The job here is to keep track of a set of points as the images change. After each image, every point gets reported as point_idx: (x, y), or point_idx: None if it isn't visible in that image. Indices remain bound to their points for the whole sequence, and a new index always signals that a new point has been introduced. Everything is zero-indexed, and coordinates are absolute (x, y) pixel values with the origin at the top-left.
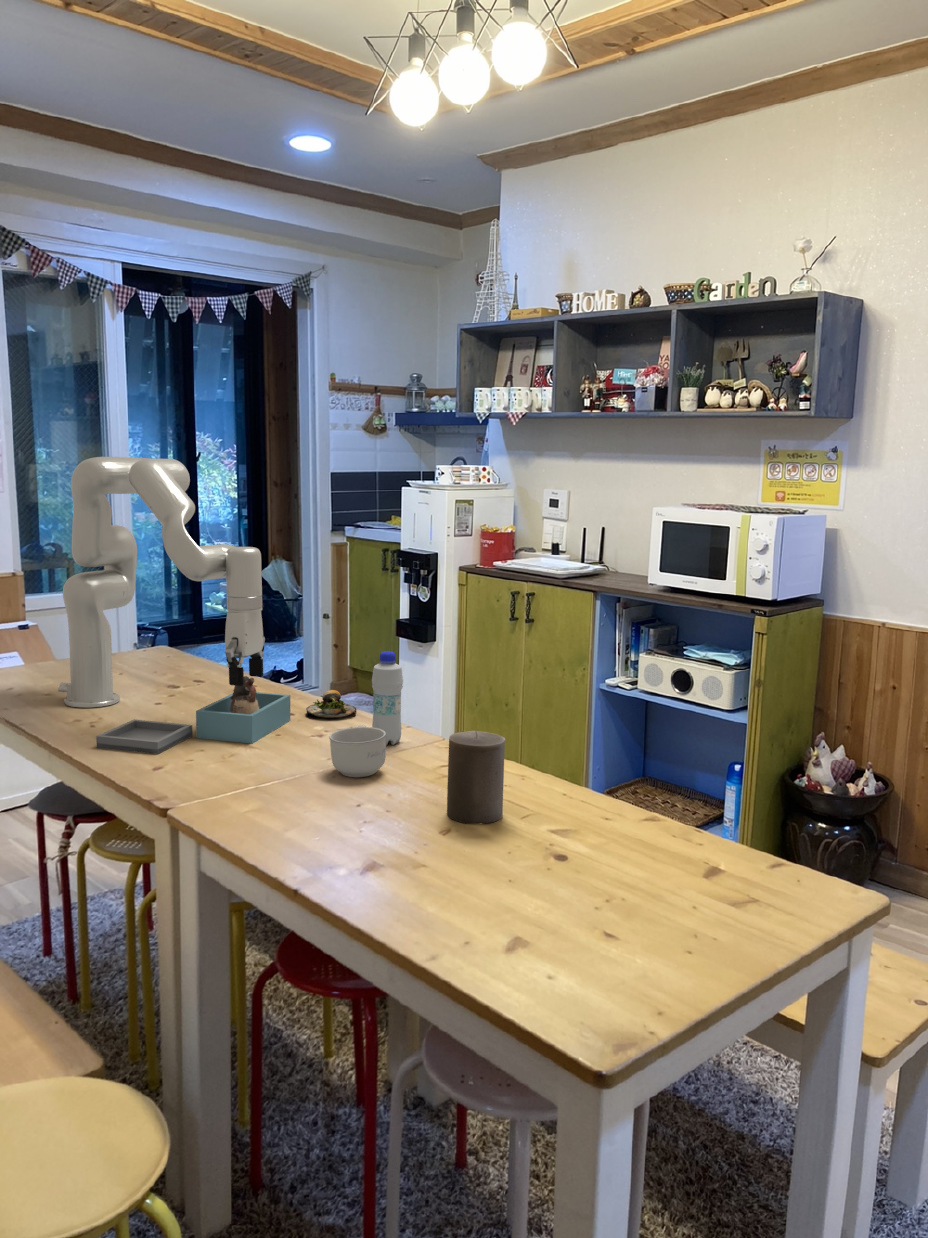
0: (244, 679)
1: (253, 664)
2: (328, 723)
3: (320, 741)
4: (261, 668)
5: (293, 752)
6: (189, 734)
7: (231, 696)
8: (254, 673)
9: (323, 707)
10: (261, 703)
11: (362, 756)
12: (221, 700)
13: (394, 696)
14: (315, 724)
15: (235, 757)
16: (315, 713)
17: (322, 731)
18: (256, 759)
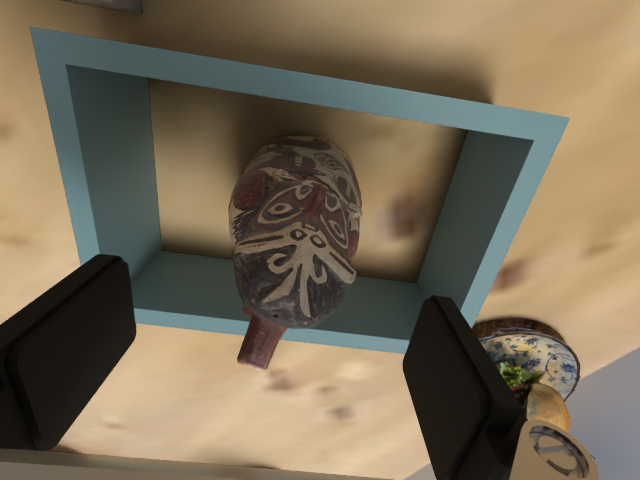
0: (254, 314)
1: (446, 393)
2: (400, 382)
3: (233, 393)
4: (419, 413)
5: (123, 364)
6: (108, 6)
7: (275, 179)
8: (420, 339)
9: None
10: (463, 234)
11: None
12: (314, 97)
13: None
14: (387, 359)
15: (4, 254)
16: (489, 347)
17: (321, 383)
18: (22, 306)
